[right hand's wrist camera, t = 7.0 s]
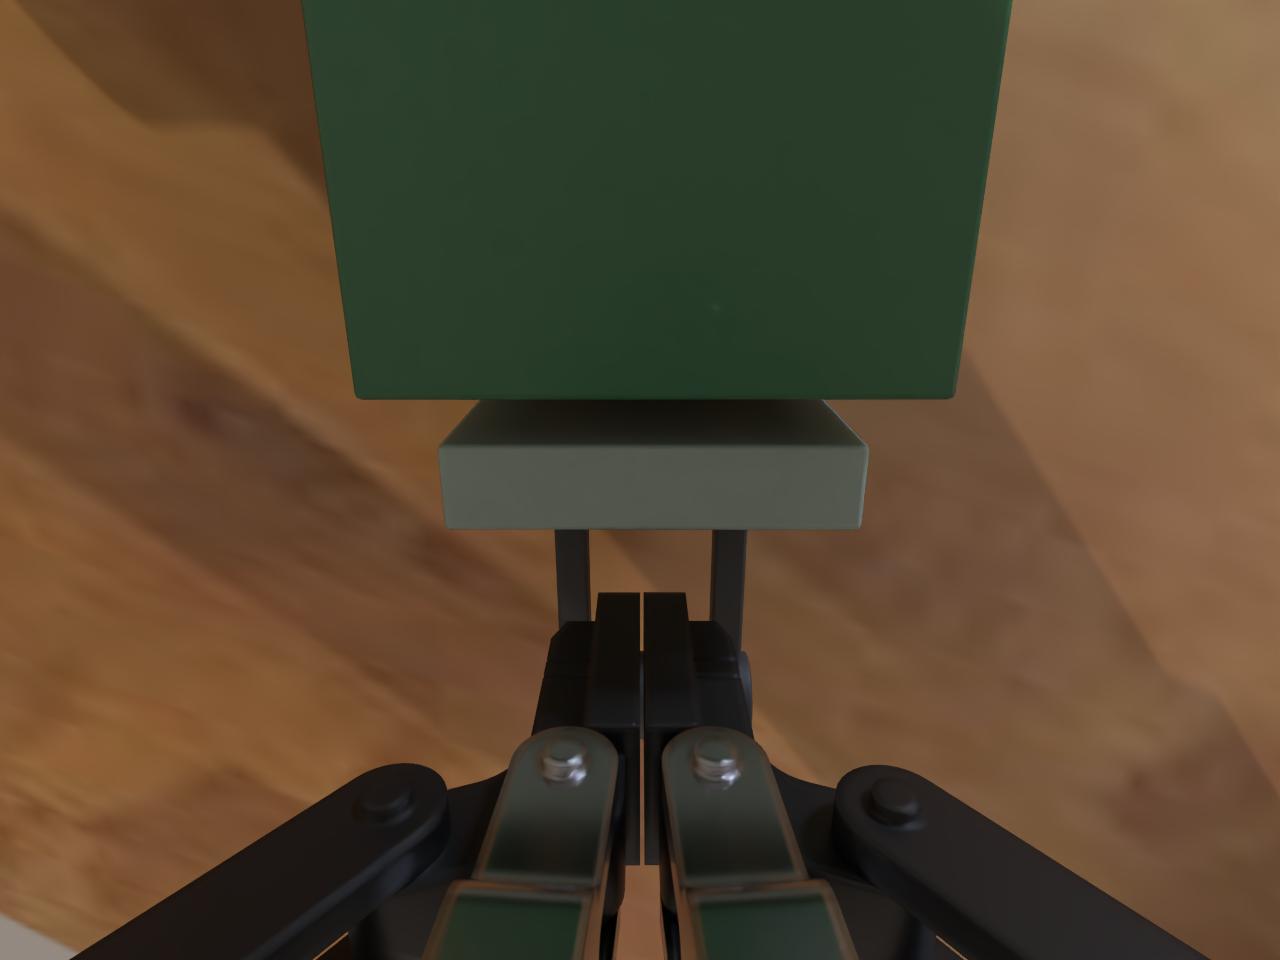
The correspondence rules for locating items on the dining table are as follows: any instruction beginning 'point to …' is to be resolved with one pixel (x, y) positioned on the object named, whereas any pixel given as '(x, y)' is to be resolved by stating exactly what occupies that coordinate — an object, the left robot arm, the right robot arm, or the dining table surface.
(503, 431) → the drawer
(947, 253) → the cabinet
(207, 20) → the dining table surface
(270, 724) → the dining table surface
